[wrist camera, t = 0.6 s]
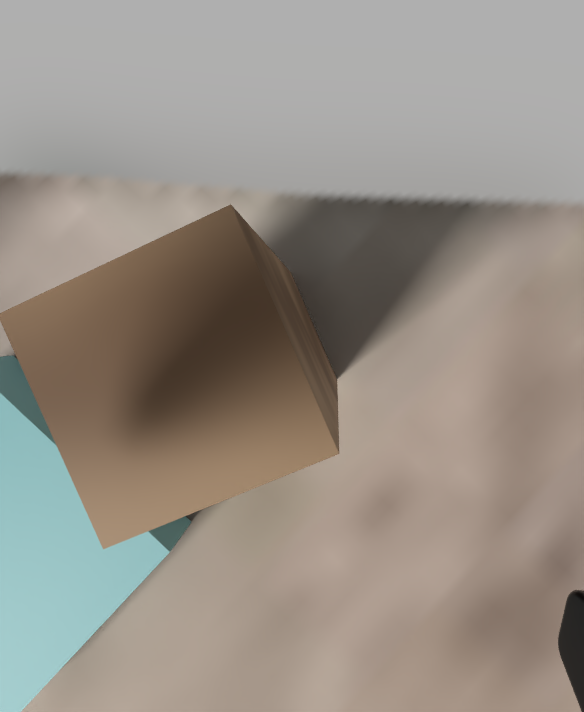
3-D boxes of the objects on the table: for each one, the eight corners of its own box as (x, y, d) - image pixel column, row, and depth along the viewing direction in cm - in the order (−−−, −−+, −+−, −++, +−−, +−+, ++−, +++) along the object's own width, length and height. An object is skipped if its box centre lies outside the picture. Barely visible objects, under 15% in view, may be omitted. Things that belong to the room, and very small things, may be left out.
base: (191, 521, 23) (169, 551, 20) (39, 685, 24) (-4, 737, 21) (13, 355, 23) (-35, 360, 20) (-130, 525, 24) (-196, 554, 21)
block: (337, 379, 22) (339, 453, 9) (232, 423, 22) (103, 549, 10) (290, 272, 22) (230, 204, 9) (186, 319, 22) (-3, 314, 10)
